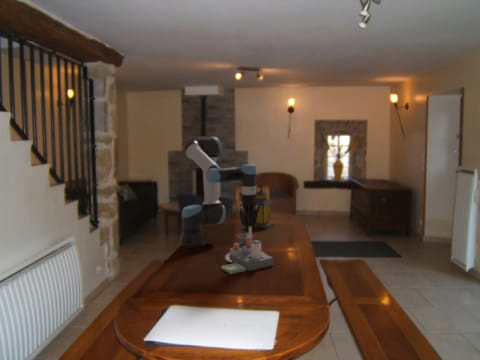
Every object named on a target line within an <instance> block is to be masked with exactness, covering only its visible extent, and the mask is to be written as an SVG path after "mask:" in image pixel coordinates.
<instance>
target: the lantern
mask: <svg viewBox="0 0 480 360" xmlns="http://www.w3.org/2000/svg"><path fill="white" fill-rule="evenodd" d="M259 188H260V190H259V191H258V192H256V193H255V194H256V201H255V202H256V205H257V206H260V209H259V211H258V215H257V221H256V224H254V226H253V228H254V227H255V228H259V229H260V228H261V229H267V228H269V227H272V226H274V223H273V222H270V221H269V219H270V214H269V213H270V212H269V211H270V207H269V206H270V205H272V204H274V202H273V201H271V200H270V199H268V197H267V196H268V194H267V193H266V192H265V191H264V190H263V188H264V184H263V183H259Z"/></svg>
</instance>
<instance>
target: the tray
mask: <svg viewBox="0 0 480 360" xmlns="http://www.w3.org/2000/svg"><path fill="white" fill-rule="evenodd" d="M221 270H222V271H224V272H226V273H228V274H229V275H234V274H237V273H240V272H242V273H243V272H246V271H247V270H246V267H244V266H242V265H240V264H237V263H230V264H225V265H224V264H223V265H221Z"/></svg>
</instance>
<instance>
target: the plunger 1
mask: <svg viewBox="0 0 480 360" xmlns="http://www.w3.org/2000/svg"><path fill="white" fill-rule="evenodd" d="M232 246H233V247H232V248H233V250H239V242H234V243H233V244H232Z"/></svg>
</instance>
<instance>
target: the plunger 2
mask: <svg viewBox="0 0 480 360" xmlns="http://www.w3.org/2000/svg"><path fill="white" fill-rule="evenodd" d="M252 241H253V239H248V238H246V247H247V248H250V247H251V242H252Z"/></svg>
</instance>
